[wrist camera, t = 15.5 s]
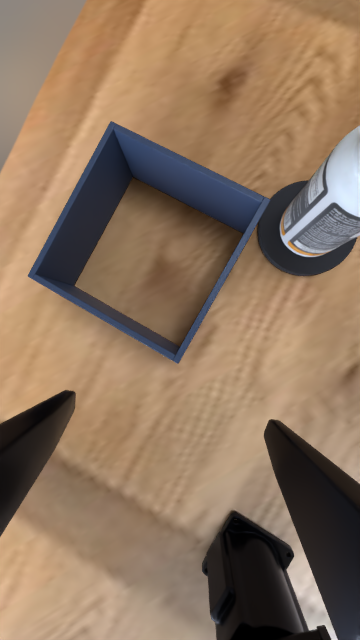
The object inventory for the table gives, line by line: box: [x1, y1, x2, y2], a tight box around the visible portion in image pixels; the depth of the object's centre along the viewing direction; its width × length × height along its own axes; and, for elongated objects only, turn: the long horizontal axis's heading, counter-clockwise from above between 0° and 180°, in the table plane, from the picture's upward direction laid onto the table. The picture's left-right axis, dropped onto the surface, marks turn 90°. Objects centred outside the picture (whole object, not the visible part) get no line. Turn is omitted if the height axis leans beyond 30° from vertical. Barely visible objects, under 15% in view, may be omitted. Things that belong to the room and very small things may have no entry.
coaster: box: [258, 181, 357, 276], centre depth 18 cm, size 9×9×1 cm
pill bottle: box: [280, 126, 360, 257], centre depth 13 cm, size 6×6×10 cm
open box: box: [28, 121, 270, 364], centre depth 17 cm, size 14×14×5 cm
